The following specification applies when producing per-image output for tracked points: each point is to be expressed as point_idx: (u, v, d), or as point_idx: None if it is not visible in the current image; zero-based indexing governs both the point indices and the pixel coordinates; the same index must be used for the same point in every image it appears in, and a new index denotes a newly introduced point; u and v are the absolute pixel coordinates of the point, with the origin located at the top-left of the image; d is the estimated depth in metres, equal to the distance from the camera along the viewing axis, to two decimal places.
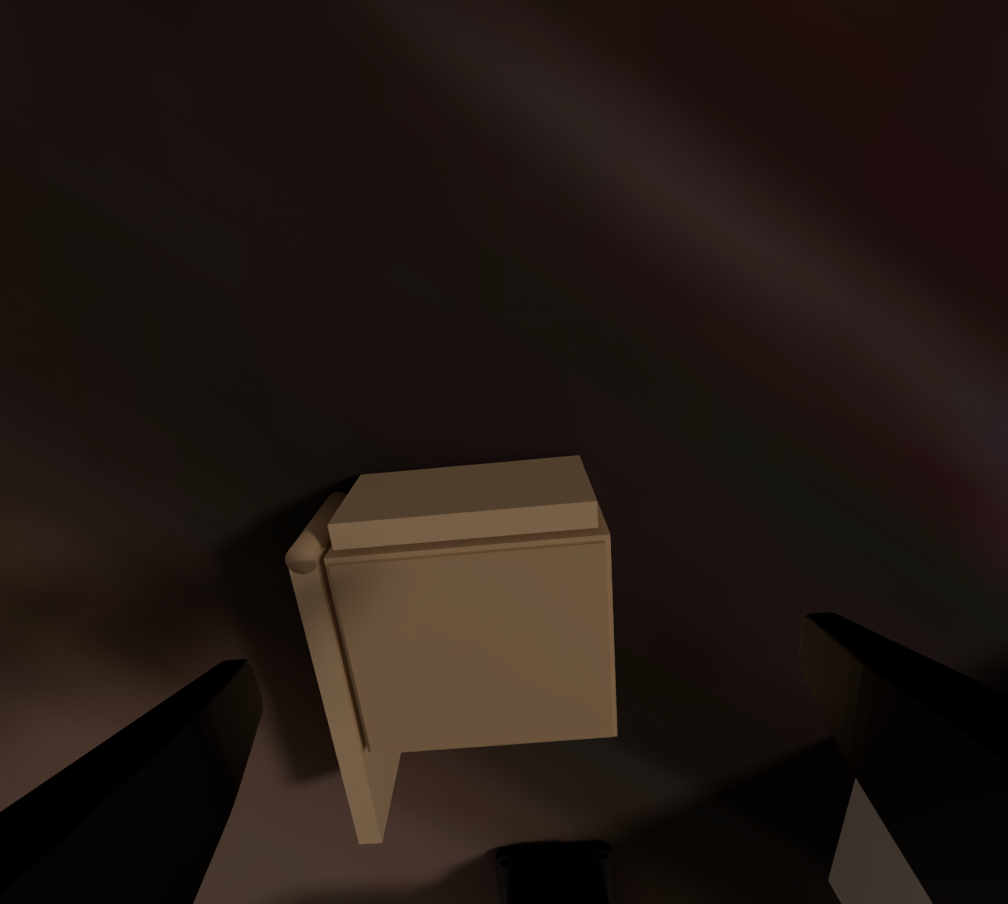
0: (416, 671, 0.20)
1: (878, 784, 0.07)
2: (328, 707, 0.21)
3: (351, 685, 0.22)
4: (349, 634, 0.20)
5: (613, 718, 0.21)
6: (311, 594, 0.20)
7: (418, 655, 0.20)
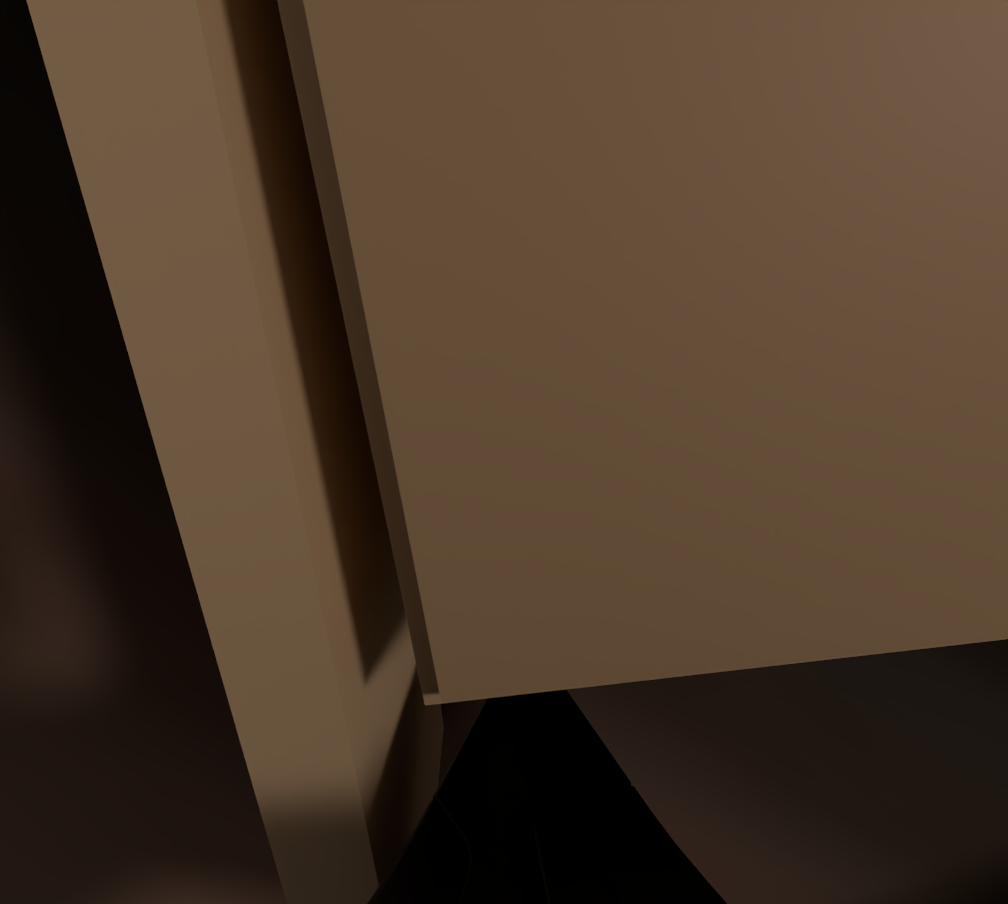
0: (717, 174, 0.03)
1: None
2: (182, 465, 0.04)
3: (304, 385, 0.05)
4: None
5: None
6: None
7: (748, 37, 0.03)
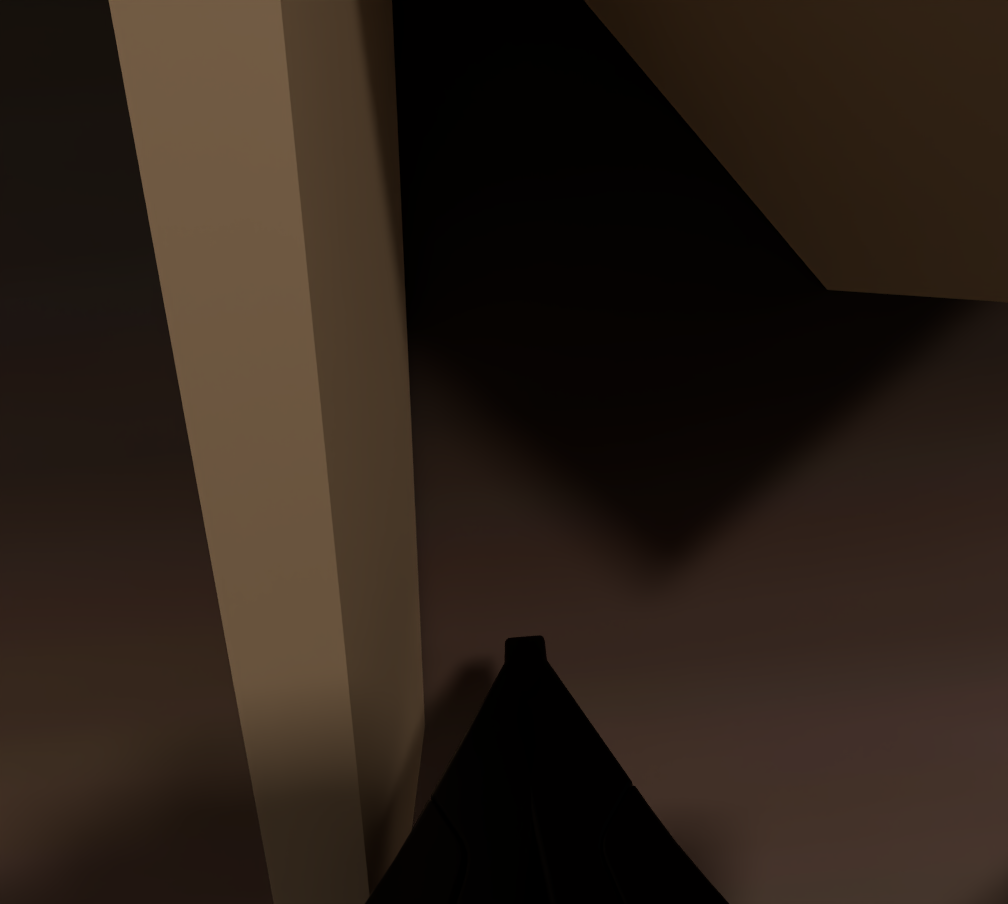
0: None
1: None
2: (213, 453, 0.04)
3: (339, 379, 0.05)
4: None
5: None
6: None
7: None
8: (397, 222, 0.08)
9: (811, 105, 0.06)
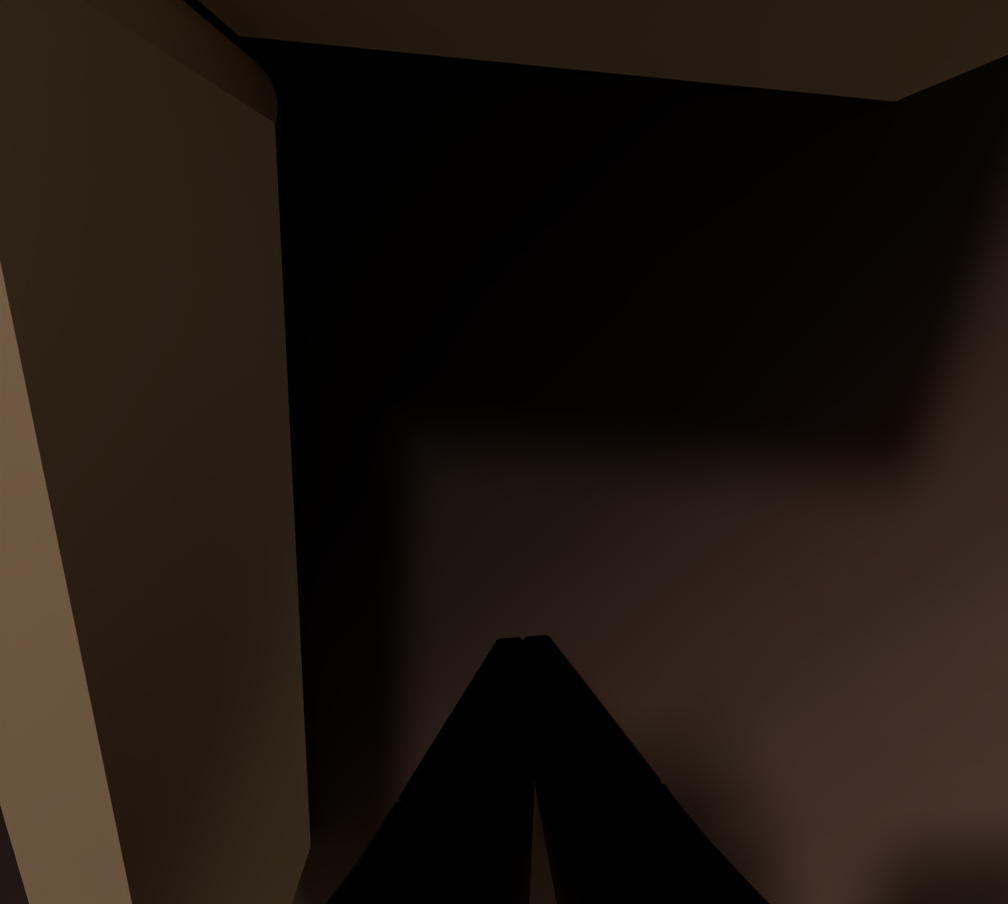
0: None
1: (541, 808, 0.07)
2: (12, 779, 0.05)
3: (141, 695, 0.05)
4: None
5: None
6: None
7: None
8: (279, 435, 0.08)
9: None
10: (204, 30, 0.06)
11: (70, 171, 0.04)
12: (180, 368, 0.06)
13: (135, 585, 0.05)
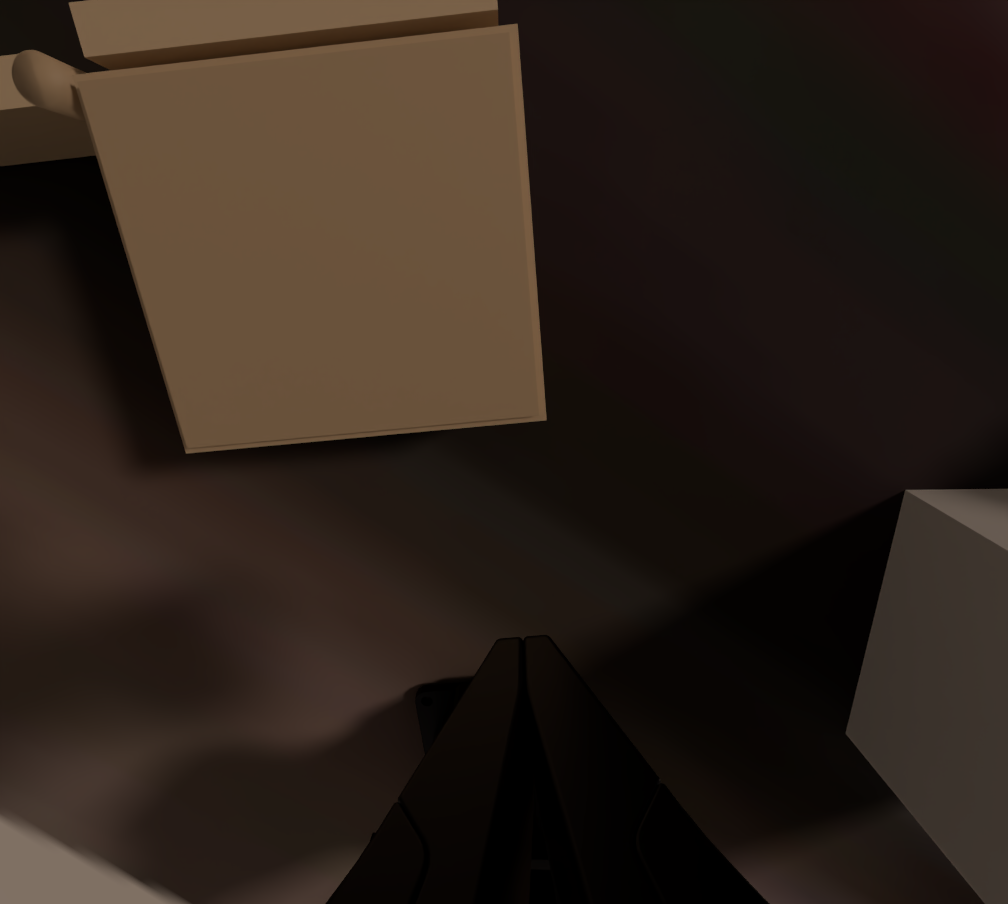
0: (236, 292, 0.14)
1: (541, 808, 0.07)
2: None
3: None
4: (126, 220, 0.13)
5: (539, 388, 0.15)
6: None
7: (236, 261, 0.13)
8: (14, 160, 0.17)
9: None
10: None
11: (13, 119, 0.13)
12: None
13: None
